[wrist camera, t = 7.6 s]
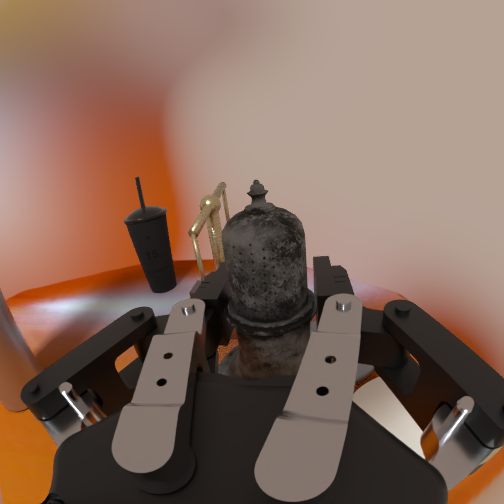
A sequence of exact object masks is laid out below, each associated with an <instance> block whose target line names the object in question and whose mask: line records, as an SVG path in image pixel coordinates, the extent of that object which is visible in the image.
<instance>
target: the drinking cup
mask: <svg viewBox="0 0 504 504" xmlns="http://www.w3.org/2000/svg"><path fill="white" fill-rule="evenodd" d="M135 179H136V185H137V190H138V195H139V200H140V204H141V208H139V209H136V210H135V211H133V212H132V213H131V214H130V215H129V216H128V217H127V218H125V219H124V223H125V224H126V225H127V228H128V231H129V234H130V237H131V239H132V242H133V245H134V247H135V250H136V253H137V255H138V258H139V260H140V263H141V265H142V268H143V270H144V273H145V275H146V278H147V280H148V282H149V285H150V287H151V289H152V291H153V292H155V293H162V292H166V291H169V290H171V289H173V288H174V287H175V286H176V277H175V272H174V266H173V260H172V254H171V247H170V241H169V235H168V227H167V220H166V212H167V209H166V208H161V207H158V206H145V204H144V199H143V195H142V190H141V185H140V180H139V177H137V178H135Z"/></svg>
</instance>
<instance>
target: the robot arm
mask: <svg viewBox="0 0 504 504" xmlns="http://www.w3.org/2000/svg"><path fill="white" fill-rule="evenodd" d="M313 265H314V266H313V268H314V294H315V296H316V297H317V312H316V326H317V331H312V333H311V336H310V339H309V342H308V345H307V348H306V351H305V354H304V357H303V359H302V362H301V365H300V368H299V371H298V373H297V375H281V376H275V377H270V378H264V379H258V380H252V381H246V380H242V379H238V378H234V377H230V376H227V375H223V374H220V373H218V359H219V356H218V352H217V348H218V346H219V345H225V346H228V343H229V340H230V338H231V335H232V332H233V329H234V327H233V326H232V325H230V324H229V322H228V321H227V319H226V318H225V314H224V307H225V305H226V302H227V301H228V299H229V298H230V297H231V290H230V285H229V280H228V274H227V268H226V263H225V262H222V263H221V264H220V266H219V267H218V269H217V271H216V272H211V273H210V274H208V275H207V276H205V278H204V279H203V281H202V282H201V284H200V285H199V288H197V290H196V291H195V293H194V295H193V296H192V298H191V299H186V300H183V301H181V302H179V303H177V304H176V305H174V306H173V308H172V310H171V313H170V314H169V315H163V316H157V317H155V315H154V312H153V310H152V309H151V308H149V307H138V308H135V309H132V310H130V311H129V312H127V313H126V314H124V315H123V316H121V317H120V318H118V319H117V320H115V321H114V322H112V323H111V324H109V325H108V326H107V327H105V328H104V329H102V330H101V331H99V332H98V333H96V334H95V335H94V336H92V337H91V338H89V339H88V340H86V341H85V342H83V343H82V344H81V345H79V346H78V347H76V348H75V349H73V350H72V351H71V352H69V353H68V354H66V355H65V356H63V357H62V358H61V359H59V360H58V361H56V362H55V363H54V364H52V365H51V366H49V367H48V368H47V369H45V370H43V369H42V367H41V366H40V364H39V362H38V361H37V359H36V358H35V356H34V354H33V353H32V351H31V349H30V347H29V346H28V344H27V342H26V340H25V339H24V337H23V335H22V333H21V331H20V329H19V328H18V326H17V324H16V322H15V320H14V318H13V316H12V314H11V312H10V309H9V307H8V305H7V303H6V301H5V298H4V296H3V294H2V291H1V289H0V402H1V403H2V404H3V405H4V407H5V408H7V409H8V410H10V411H14V412H17V411H22V410H25V409H27V408H28V409H29V410H30V411H31V412H32V413H33V414H34V417H35V418H36V419H37V420H38V421H39V422H40V423H41V425H42V426H43V427H44V428H45V429H46V430H47V431H48V433H49V434H50V436H51V437H52V439H53V440H54V442H55V443H56V445H57V446H58V449H57V451H56V454H55V457H54V464H53V477H52V483H51V487H50V491H49V494H48V496H47V498H46V499H45V500H44V501H43V502H42V503H41V504H447V502H448V491H449V490H451V489H452V488H453V487H454V486H456V485H457V484H458V483H459V482H460V481H462V480H463V479H464V478H465V477H466V476H468V475H471V474H473V473H474V472H475V471H477V470H478V469H479V468H480V467H481V466H482V465H484V464H485V463H486V462H487V461H488V460H489V459H490V458H491V457H492V456H494V455H495V454H496V453H497V452H498V451H499V450H500V449H501V448H502V447H503V446H504V379H503V378H502V376H500V375H499V374H498V373H497V372H496V371H495V370H494V369H493V368H492V367H490V366H489V365H488V364H487V363H486V362H485V361H484V360H483V359H482V358H480V357H479V356H478V355H477V354H476V353H475V352H474V351H472V350H471V349H470V348H469V347H468V346H467V345H465V344H464V343H463V342H462V341H460V340H459V339H458V338H457V337H456V336H455V335H453V334H452V333H451V332H450V331H449V330H447V329H446V328H445V327H444V326H442V325H441V324H440V323H439V322H437V321H436V320H435V319H434V318H432V317H431V316H430V315H429V314H427V313H426V312H425V311H424V310H422V309H421V308H420V307H418V306H417V305H416V304H414V303H412V302H410V301H407V300H393V301H390V302H388V303H387V304H386V305H385V307H384V311H381V310H373V309H368V308H365V307H363V306H362V301H361V300H360V299H359V298H358V297H357V296H355V295H354V292H353V289H352V286H351V283H350V280H349V277H348V274H347V271H346V270H345V269H344V268H343V267H341V266H340V265H339V266H331V264H330V260H329V257H328V256H320V257H313ZM132 345H134V348H135V350H136V352H137V354H138V356H139V357H138V358H136V359H135V360H134V361H133V362H131V363H130V364H129V365H128V366H126V367H125V368H124V369H123V370H121V371H120V372H119V373H118V372H117V370H116V368H115V361H116V359H117V357H118V356H120V355H121V354H122V353H123V352H125V351H126V350H127V349H129V348H130V347H131V346H132ZM410 353H411V354H412V355H413V356H414V357H415V358H416V360H417V361H418V362H419V365H420V366H419V365H418V363H417V362H416V361H415V360H414V359H413V358H412V357H411V356H410ZM358 363H359V364H366V365H372V366H374V369H375V371H376V372H377V374H378V375H379V376H380V378H381V379H382V380H383V381H384V383H385V384H386V385H387V386H388V388H389V389H390V390H391V391H392V393H393V394H394V395H395V396H396V398H397V399H398V400H399V402H400V403H401V404H402V405H403V407H404V408H405V409H406V411H407V412H408V413H409V414H410V416H411V417H412V418H413V420H414V421H415V422H416V424H417V425H418V426H419V427H420V429H421V430H422V431H423V433H422V435H421V439H420V445H421V448H422V450H423V455H424V456H425V459H424V458H422V457H421V456H420V455H419V454H417V453H416V452H415V451H413V450H412V449H411V448H410V447H408V446H407V445H406V444H404V443H403V442H402V441H401V440H399V439H398V438H397V437H396V436H394V435H393V434H392V433H391V432H389V431H388V430H387V429H386V428H385V427H383V426H382V425H381V424H380V423H378V422H377V421H376V420H375V419H374V418H372V417H371V416H370V415H369V414H368V413H366V412H365V411H364V410H363V409H362V408H361V407H359V406H358V405H357V404H356V403H355V402H353V401H352V398H353V392H354V386H355V379H356V372H357V364H358Z"/></svg>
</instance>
